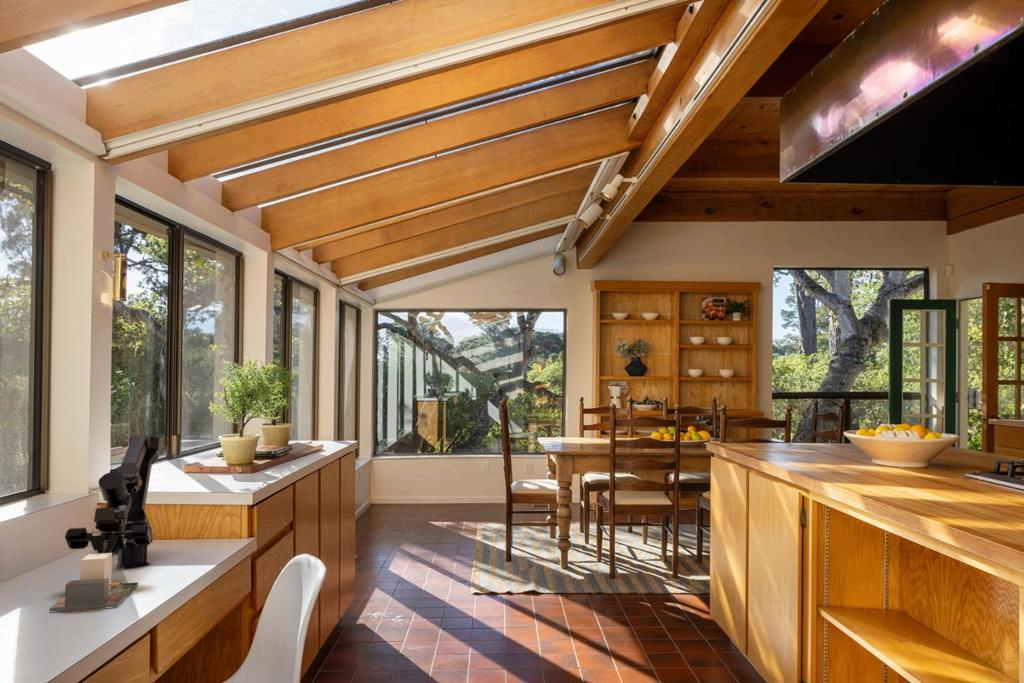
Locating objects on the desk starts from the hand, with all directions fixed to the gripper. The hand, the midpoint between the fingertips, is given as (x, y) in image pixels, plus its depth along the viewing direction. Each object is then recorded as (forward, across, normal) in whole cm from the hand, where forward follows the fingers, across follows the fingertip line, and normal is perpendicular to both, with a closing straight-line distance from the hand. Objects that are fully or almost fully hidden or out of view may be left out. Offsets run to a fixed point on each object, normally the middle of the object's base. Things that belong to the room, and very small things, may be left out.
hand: (101, 566), depth 174 cm
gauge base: (+7, 0, +3) cm, 8 cm away
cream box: (+7, 0, +1) cm, 7 cm away
